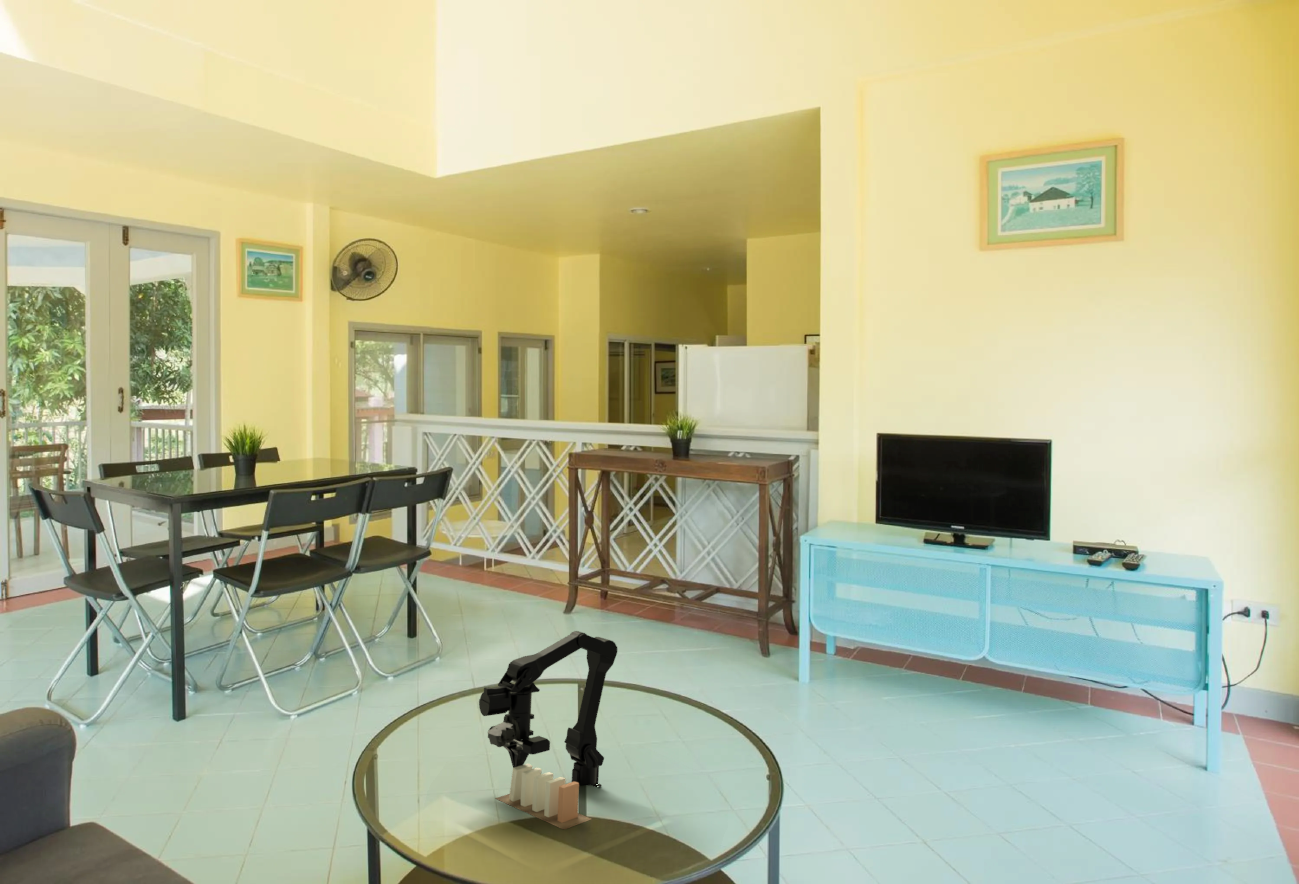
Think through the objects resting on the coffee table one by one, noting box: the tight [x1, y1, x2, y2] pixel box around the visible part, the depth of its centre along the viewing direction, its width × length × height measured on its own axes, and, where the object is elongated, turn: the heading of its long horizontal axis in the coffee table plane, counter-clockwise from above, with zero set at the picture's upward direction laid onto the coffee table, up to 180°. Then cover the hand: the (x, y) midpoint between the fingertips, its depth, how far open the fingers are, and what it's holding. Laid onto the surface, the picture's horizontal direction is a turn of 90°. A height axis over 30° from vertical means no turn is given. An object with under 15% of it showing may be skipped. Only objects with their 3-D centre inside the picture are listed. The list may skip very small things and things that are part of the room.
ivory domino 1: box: [509, 763, 533, 801], centre depth 205 cm, size 2×5×8 cm, turn 137°
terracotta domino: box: [558, 781, 580, 823], centre depth 194 cm, size 2×5×8 cm, turn 138°
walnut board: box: [494, 793, 592, 830], centre depth 199 cm, size 26×9×1 cm, turn 48°
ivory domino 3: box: [532, 771, 554, 812], centre depth 199 cm, size 2×5×8 cm, turn 138°
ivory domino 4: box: [544, 776, 567, 817], centre depth 196 cm, size 2×5×8 cm, turn 138°
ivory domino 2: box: [521, 767, 543, 807], centre depth 202 cm, size 2×5×8 cm, turn 138°
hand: (516, 772), depth 206 cm, fingers closed
